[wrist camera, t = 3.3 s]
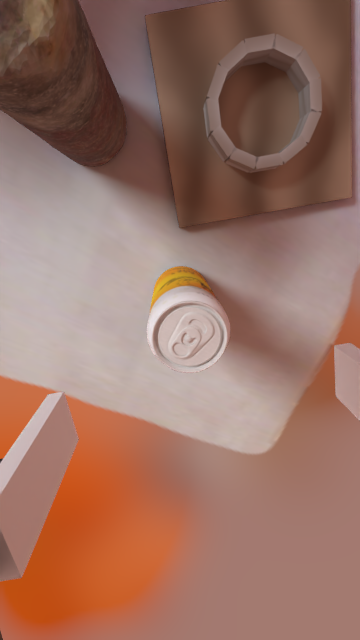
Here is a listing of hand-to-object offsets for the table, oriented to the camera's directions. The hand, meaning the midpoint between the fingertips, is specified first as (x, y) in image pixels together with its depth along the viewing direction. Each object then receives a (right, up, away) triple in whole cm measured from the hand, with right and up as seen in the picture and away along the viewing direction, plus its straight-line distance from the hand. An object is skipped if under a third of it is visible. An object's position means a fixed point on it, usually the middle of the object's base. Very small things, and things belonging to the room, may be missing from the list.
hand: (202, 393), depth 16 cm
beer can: (-1, +7, +21) cm, 22 cm away
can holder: (+6, +23, +16) cm, 29 cm away
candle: (-10, +23, +16) cm, 29 cm away
